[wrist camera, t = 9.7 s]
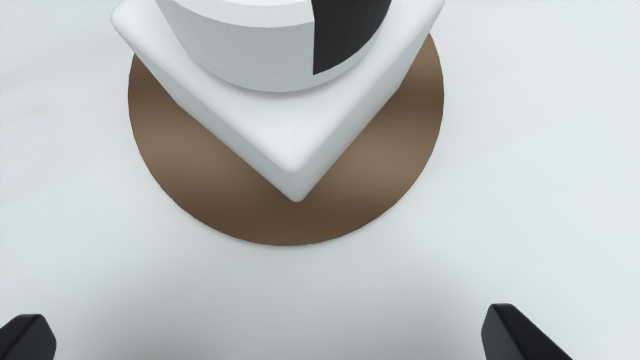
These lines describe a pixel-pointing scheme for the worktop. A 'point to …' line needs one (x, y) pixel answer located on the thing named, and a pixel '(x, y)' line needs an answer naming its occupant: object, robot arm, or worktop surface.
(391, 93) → the medicine bottle
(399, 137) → the walnut coaster
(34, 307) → the worktop surface
